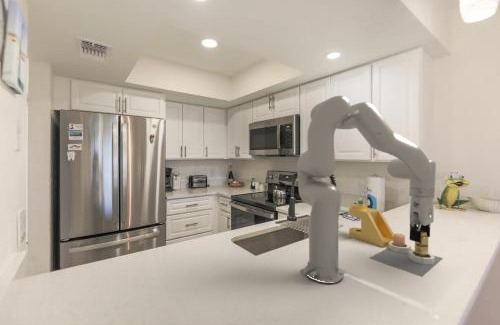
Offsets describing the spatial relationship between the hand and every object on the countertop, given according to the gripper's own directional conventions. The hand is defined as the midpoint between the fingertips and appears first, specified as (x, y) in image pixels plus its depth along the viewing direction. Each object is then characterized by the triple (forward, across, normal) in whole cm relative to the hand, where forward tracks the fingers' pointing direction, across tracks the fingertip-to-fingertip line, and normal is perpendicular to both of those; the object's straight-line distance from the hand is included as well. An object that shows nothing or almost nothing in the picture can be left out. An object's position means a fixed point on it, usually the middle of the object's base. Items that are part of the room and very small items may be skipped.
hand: (419, 238), depth 86 cm
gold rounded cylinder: (+8, +1, 0) cm, 8 cm away
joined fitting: (+8, +5, +9) cm, 13 cm away
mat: (+9, -2, +4) cm, 10 cm away
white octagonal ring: (+8, +1, 0) cm, 8 cm away
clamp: (+10, +8, +22) cm, 26 cm away
